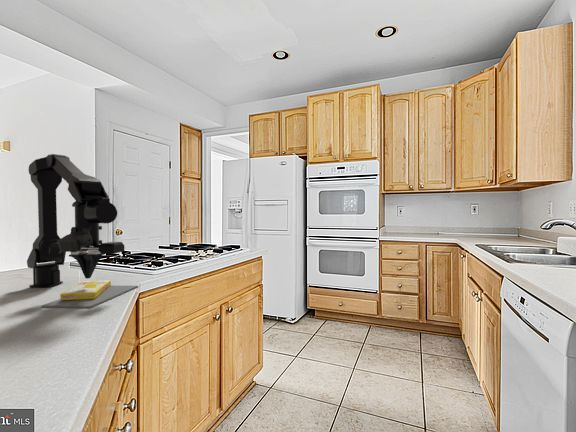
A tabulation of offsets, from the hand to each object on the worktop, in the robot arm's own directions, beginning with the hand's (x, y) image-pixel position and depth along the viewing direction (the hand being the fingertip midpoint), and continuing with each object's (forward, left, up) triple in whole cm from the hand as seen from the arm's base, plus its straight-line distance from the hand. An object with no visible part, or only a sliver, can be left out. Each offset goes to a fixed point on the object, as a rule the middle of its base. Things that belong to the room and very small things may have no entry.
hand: (88, 278), depth 92 cm
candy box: (-5, 0, -4) cm, 6 cm away
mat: (+2, 0, -5) cm, 5 cm away
